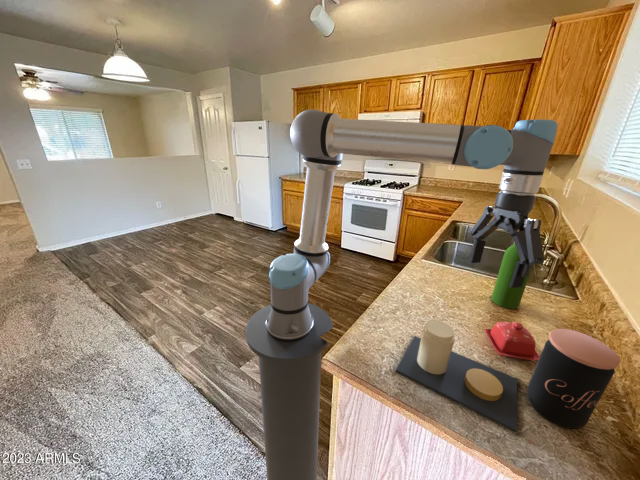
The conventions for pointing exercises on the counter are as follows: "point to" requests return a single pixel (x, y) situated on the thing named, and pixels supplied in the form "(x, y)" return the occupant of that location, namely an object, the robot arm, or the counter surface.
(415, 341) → the mat
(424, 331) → the cream-colored jar
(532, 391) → the coffee jar
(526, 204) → the robot arm
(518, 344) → the butter dish
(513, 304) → the wine bottle
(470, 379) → the lid
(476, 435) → the counter surface
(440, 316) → the counter surface
